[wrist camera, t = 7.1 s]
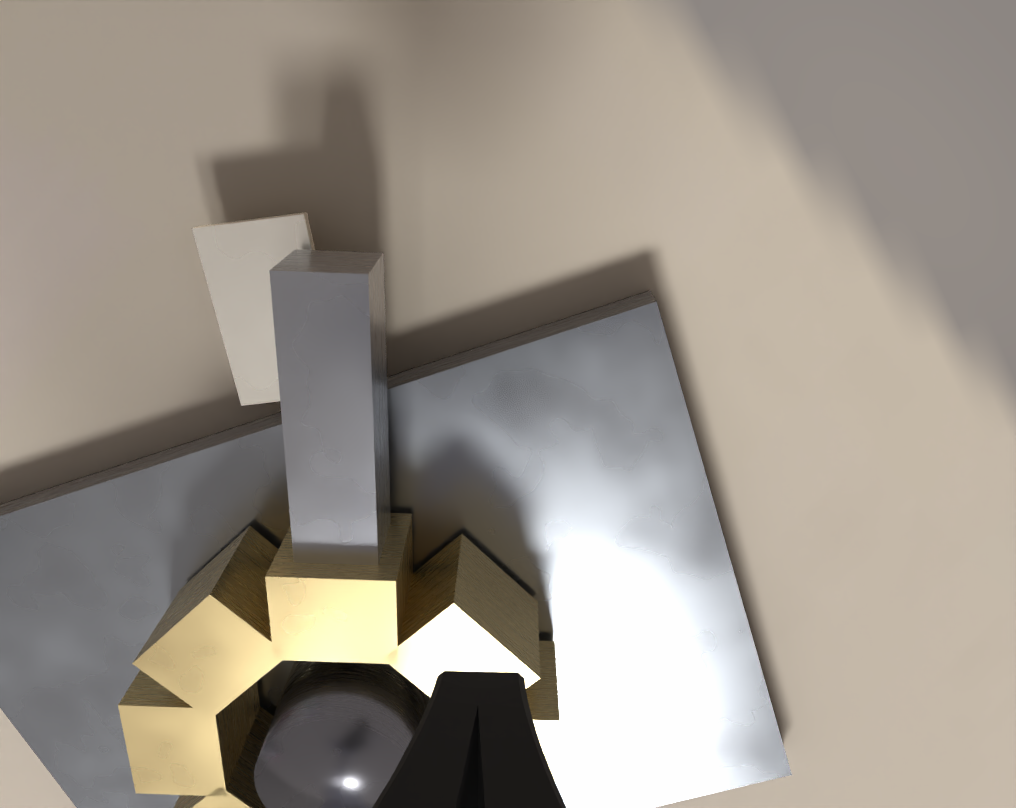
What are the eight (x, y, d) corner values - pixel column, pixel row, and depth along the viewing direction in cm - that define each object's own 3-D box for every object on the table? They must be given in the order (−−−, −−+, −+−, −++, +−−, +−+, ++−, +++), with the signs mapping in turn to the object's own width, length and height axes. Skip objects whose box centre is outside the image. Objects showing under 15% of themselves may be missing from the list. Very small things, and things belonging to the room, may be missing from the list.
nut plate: (782, 749, 26) (839, 898, 21) (176, 895, 29) (110, 1053, 24) (589, 78, 18) (612, 82, 13) (-211, 375, 21) (-414, 461, 17)
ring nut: (542, 818, 25) (545, 910, 23) (196, 806, 25) (156, 896, 23) (581, 256, 18) (592, 289, 16) (103, 238, 18) (29, 269, 16)
